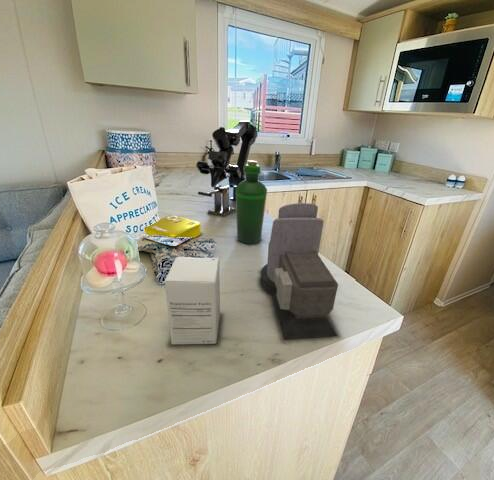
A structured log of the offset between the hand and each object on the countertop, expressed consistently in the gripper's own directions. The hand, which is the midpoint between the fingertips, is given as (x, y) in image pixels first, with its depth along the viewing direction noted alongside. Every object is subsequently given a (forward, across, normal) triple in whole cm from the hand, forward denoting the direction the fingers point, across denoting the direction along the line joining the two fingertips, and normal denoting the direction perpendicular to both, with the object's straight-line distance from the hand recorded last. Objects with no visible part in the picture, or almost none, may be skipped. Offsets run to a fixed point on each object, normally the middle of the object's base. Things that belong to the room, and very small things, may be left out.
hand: (212, 186), depth 113 cm
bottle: (+20, +23, -1) cm, 30 cm away
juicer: (+40, +45, -20) cm, 63 cm away
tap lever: (+2, 0, +4) cm, 4 cm away
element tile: (+26, -3, -7) cm, 28 cm away
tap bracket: (+4, 0, +15) cm, 15 cm away
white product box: (+54, +28, -34) cm, 70 cm away
